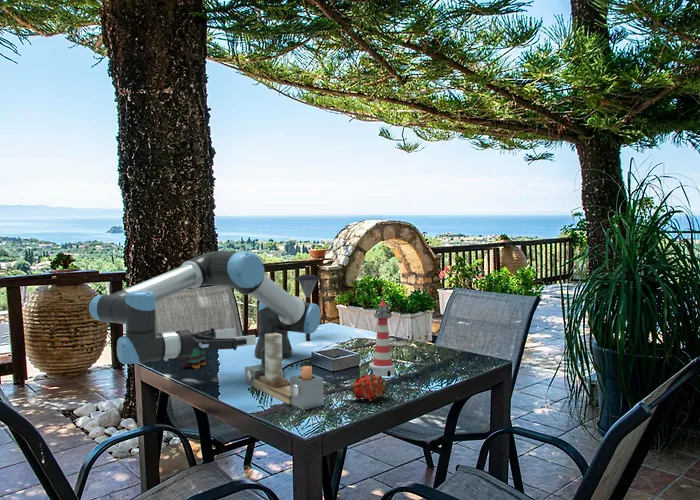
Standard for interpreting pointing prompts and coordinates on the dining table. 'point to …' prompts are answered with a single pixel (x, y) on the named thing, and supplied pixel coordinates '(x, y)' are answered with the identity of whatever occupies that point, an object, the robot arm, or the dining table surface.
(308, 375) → the button
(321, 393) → the cabinet
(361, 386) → the dragon fruit
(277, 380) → the tall cream pillar
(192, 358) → the binoculars
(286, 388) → the rail
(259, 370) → the cabinet
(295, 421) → the dining table surface
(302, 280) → the solar garden light
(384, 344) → the miniature lighthouse
